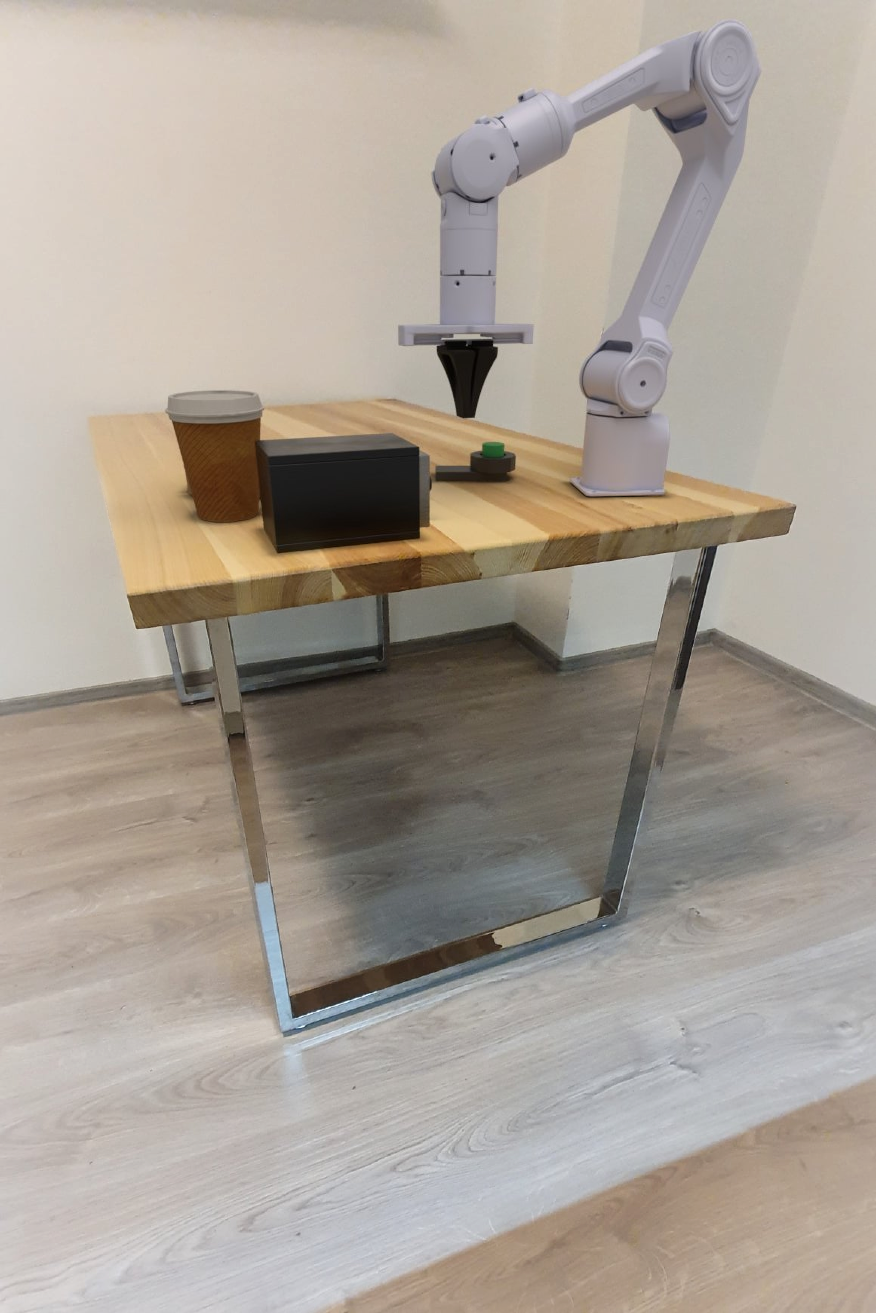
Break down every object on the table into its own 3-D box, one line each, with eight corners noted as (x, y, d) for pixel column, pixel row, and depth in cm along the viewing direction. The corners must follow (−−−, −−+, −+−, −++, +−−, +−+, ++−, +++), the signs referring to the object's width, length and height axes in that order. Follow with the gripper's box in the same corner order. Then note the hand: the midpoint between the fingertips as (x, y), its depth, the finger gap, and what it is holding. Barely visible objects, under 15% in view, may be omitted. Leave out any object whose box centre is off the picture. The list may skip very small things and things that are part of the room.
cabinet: (394, 517, 76) (392, 432, 72) (420, 539, 69) (419, 446, 66) (263, 529, 72) (254, 440, 68) (277, 553, 65) (267, 456, 61)
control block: (511, 473, 96) (513, 450, 95) (516, 483, 91) (517, 458, 90) (435, 473, 96) (435, 450, 95) (435, 483, 91) (435, 458, 90)
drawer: (418, 508, 76) (417, 441, 73) (441, 525, 70) (442, 454, 67) (287, 520, 72) (280, 449, 69) (300, 539, 66) (294, 463, 63)
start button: (502, 455, 94) (503, 441, 93) (504, 460, 91) (505, 445, 90) (481, 455, 94) (481, 441, 93) (482, 460, 91) (482, 445, 90)
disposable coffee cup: (191, 531, 71) (172, 402, 66) (174, 509, 79) (156, 392, 74) (285, 519, 75) (274, 397, 70) (261, 499, 83) (249, 388, 78)
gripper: (413, 274, 68) (415, 425, 74) (550, 276, 72) (542, 418, 78) (390, 276, 74) (393, 416, 80) (518, 278, 78) (512, 410, 84)
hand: (465, 417), depth 79 cm, fingers closed
